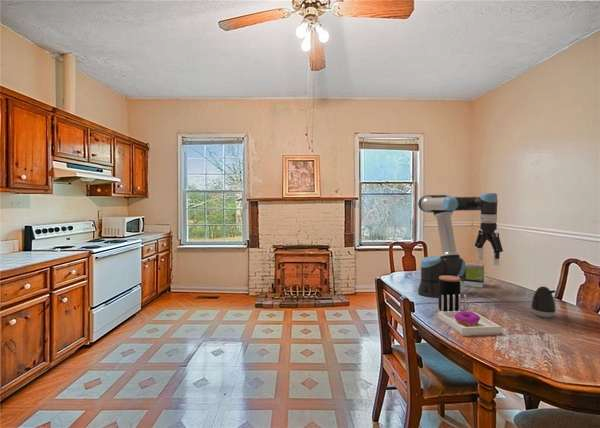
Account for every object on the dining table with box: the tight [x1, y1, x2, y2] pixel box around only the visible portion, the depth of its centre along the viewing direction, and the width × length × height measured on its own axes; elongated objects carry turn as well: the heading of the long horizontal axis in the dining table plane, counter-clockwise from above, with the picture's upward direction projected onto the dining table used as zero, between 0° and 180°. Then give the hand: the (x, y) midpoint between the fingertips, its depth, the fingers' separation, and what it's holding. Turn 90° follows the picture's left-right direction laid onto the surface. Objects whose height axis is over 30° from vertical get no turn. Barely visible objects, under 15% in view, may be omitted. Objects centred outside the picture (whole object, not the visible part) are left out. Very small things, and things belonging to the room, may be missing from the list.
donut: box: [455, 310, 480, 326], centre depth 161 cm, size 10×10×5 cm
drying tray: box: [437, 310, 502, 337], centre depth 161 cm, size 22×18×4 cm
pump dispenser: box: [530, 286, 557, 319], centre depth 174 cm, size 10×10×15 cm
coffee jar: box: [438, 275, 461, 311], centre depth 183 cm, size 11×11×18 cm
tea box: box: [459, 262, 485, 288], centre depth 236 cm, size 15×10×15 cm, turn 58°
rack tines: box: [440, 293, 467, 312], centre depth 173 cm, size 2×16×12 cm, turn 95°
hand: (487, 262), depth 180 cm, fingers open, 13 cm apart
